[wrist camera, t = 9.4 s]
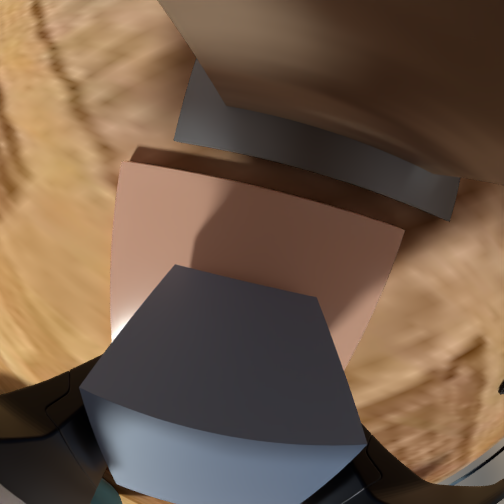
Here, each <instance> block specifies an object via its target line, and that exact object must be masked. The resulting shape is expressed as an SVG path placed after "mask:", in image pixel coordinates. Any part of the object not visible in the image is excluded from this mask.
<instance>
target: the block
mask: <svg viewBox="0 0 504 504" xmlns="http://www.w3.org/2000/svg"><path fill="white" fill-rule="evenodd" d="M79 389H80V392H81V396H82V399H83V403H84V406H85V409H86V412H87V415H88V418H89V421H90V424H91V427H92V429H93V432H94V435H95V437H96V440H97V442H98V445H99V447H100V450H101V452H102V454H103V457H104V459H105V461H106V463H107V466H108V468H109V470H110V472H111V474H112V476H113V478H114V480H115V482H116V484H118V485H120V486H123V487H125V488H128V489H131V490H133V491H136V492H139V493H142V494H145V495H148V496H151V497H155V498H158V499H161V500H165V501H168V502H172V503H176V504H300V503H302V502H303V501H304V500H306V499H307V498H308V497H310V496H311V495H312V494H314V493H315V492H316V491H317V490H319V489H320V488H321V487H322V486H323V485H325V484H326V483H327V482H328V481H329V480H331V479H332V478H333V477H334V476H335V475H336V474H337V473H339V472H340V471H341V470H342V469H343V468H344V467H345V466H346V465H347V464H348V463H349V462H350V461H351V460H352V459H354V458H355V457H356V456H357V455H358V454H359V453H360V452H361V451H362V449H363V448H364V447H365V446H366V445H367V441H366V438H365V434H364V431H363V428H362V425H361V421H360V418H359V415H358V412H357V409H356V406H355V403H354V400H353V397H352V394H351V391H350V388H349V385H348V382H347V379H346V376H345V373H344V370H343V367H342V364H341V361H340V359H339V356H338V353H337V350H336V347H335V345H334V342H333V339H332V336H331V334H330V331H329V328H328V326H327V323H326V320H325V318H324V315H323V312H322V310H321V307H320V304H319V302H318V299H317V297H313V296H308V295H304V294H299V293H294V292H290V291H285V290H281V289H276V288H272V287H267V286H263V285H259V284H254V283H250V282H246V281H242V280H237V279H233V278H229V277H225V276H221V275H216V274H212V273H208V272H204V271H200V270H196V269H192V268H188V267H184V266H180V265H176V264H175V265H174V266H173V267H172V268H171V270H170V271H169V272H168V273H167V274H166V276H165V277H164V278H163V279H162V280H161V282H160V283H159V284H158V285H157V286H156V288H155V289H154V290H153V291H152V292H151V294H150V295H149V296H148V297H147V299H146V300H145V301H144V302H143V303H142V305H141V306H140V307H139V308H138V310H137V311H136V312H135V313H134V315H133V316H132V317H131V319H130V320H129V321H128V322H127V324H126V325H125V326H124V327H123V329H122V330H121V331H120V333H119V334H118V335H117V336H116V338H115V339H114V340H113V342H112V343H111V344H110V346H109V347H108V348H107V350H106V351H105V352H104V354H103V355H102V356H101V358H100V359H99V360H98V362H97V363H96V364H95V366H94V367H93V369H92V370H91V371H90V373H89V374H88V375H87V377H86V378H85V380H84V381H83V382H82V384H81V385H80V387H79Z"/></svg>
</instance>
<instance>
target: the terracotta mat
mask: <svg viewBox="0 0 504 504" xmlns="http://www.w3.org/2000/svg"><path fill="white" fill-rule="evenodd" d="M404 232H405V230H403V229H401V228H399V227H397V226H394V225H391V224H388V223H385V222H382V221H379V220H376V219H373V218H370V217H367V216H364V215H361V214H358V213H354V212H351V211H348V210H345V209H341V208H338V207H335V206H331V205H328V204H324V203H321V202H317V201H314V200H310V199H307V198H303V197H299V196H296V195H292V194H288V193H284V192H280V191H276V190H272V189H268V188H264V187H260V186H256V185H252V184H247V183H243V182H239V181H234V180H230V179H225V178H221V177H216V176H211V175H206V174H201V173H196V172H191V171H186V170H180V169H175V168H169V167H164V166H158V165H152V164H146V163H139V162H133V161H121V167H120V173H119V180H118V187H117V194H116V202H115V211H114V221H113V232H112V246H111V269H110V313H111V335H112V342H113V340H114V339H115V338H116V336H117V335H118V334H119V333H120V331H121V330H122V329H123V327H124V326H125V325H126V324H127V322H128V321H129V320H130V319H131V317H132V316H133V315H134V313H135V312H136V311H137V310H138V308H139V307H140V306H141V305H142V303H143V302H144V301H145V300H146V299H147V297H148V296H149V295H150V294H151V292H152V291H153V290H154V289H155V288H156V286H157V285H158V284H159V283H160V282H161V280H162V279H163V278H164V277H165V276H166V274H167V273H168V272H169V271H170V270H171V268H172V267H173V266H174V265H175V264H176V265H180V266H184V267H188V268H192V269H196V270H200V271H204V272H208V273H212V274H216V275H221V276H225V277H229V278H233V279H237V280H242V281H246V282H250V283H254V284H259V285H263V286H267V287H272V288H276V289H281V290H285V291H290V292H294V293H299V294H304V295H308V296H313V297H317V299H318V302H319V304H320V307H321V310H322V312H323V315H324V318H325V320H326V323H327V326H328V328H329V331H330V334H331V336H332V339H333V342H334V345H335V347H336V350H337V353H338V356H339V359H340V361H341V364H342V367H343V370H345V368H346V366H347V364H348V363H349V361H350V359H351V357H352V355H353V353H354V351H355V349H356V347H357V345H358V343H359V342H360V340H361V338H362V335H363V333H364V331H365V329H366V327H367V325H368V323H369V321H370V319H371V317H372V314H373V312H374V310H375V308H376V305H377V303H378V301H379V299H380V296H381V294H382V291H383V289H384V287H385V284H386V282H387V279H388V277H389V274H390V272H391V269H392V266H393V264H394V261H395V258H396V255H397V253H398V250H399V247H400V244H401V241H402V238H403V235H404Z"/></svg>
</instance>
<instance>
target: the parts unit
mask: <svg viewBox="0 0 504 504" xmlns="http://www.w3.org/2000/svg"><path fill="white" fill-rule="evenodd" d="M158 2H159V3H160V5H161V6H162V7H163V9H164V10H165V12H166V13H167V15H168V16H169V17H170V19H171V20H172V22H173V23H174V25H175V26H176V28H177V29H178V31H179V32H180V34H181V35H182V37H183V38H184V40H185V41H186V43H187V44H188V46H189V47H190V49H191V50H192V52H193V53H194V55H195V56H196V61H195V64H194V67H193V70H192V74H191V77H190V80H189V83H188V87H187V90H186V94H185V97H184V101H183V105H182V108H181V112H180V116H179V120H178V124H177V128H176V132H175V137H174V141H177V142H181V143H187V144H193V145H199V146H204V147H210V148H215V149H220V150H225V151H230V152H235V153H239V154H244V155H248V156H253V157H257V158H261V159H266V160H270V161H274V162H278V163H282V164H285V165H289V166H293V167H297V168H300V169H304V170H307V171H311V172H314V173H318V174H321V175H324V176H328V177H331V178H334V179H337V180H341V181H344V182H347V183H350V184H353V185H356V186H359V187H362V188H365V189H367V190H370V191H373V192H376V193H379V194H381V195H384V196H387V197H390V198H392V199H395V200H397V201H400V202H403V203H405V204H408V205H410V206H413V207H415V208H418V209H420V210H422V211H425V212H427V213H429V214H432V215H434V216H436V217H439V218H441V219H444V220H446V221H449V222H450V218H451V215H452V211H453V208H454V204H455V200H456V196H457V192H458V187H459V183H460V178H466V179H473V180H479V181H484V182H490V183H495V184H500V185H504V0H158Z"/></svg>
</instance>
